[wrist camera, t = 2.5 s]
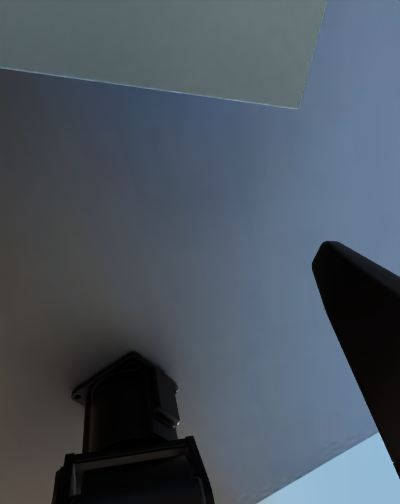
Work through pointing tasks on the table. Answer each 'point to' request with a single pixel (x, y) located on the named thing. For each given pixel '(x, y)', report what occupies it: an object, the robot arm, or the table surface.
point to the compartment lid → (169, 44)
